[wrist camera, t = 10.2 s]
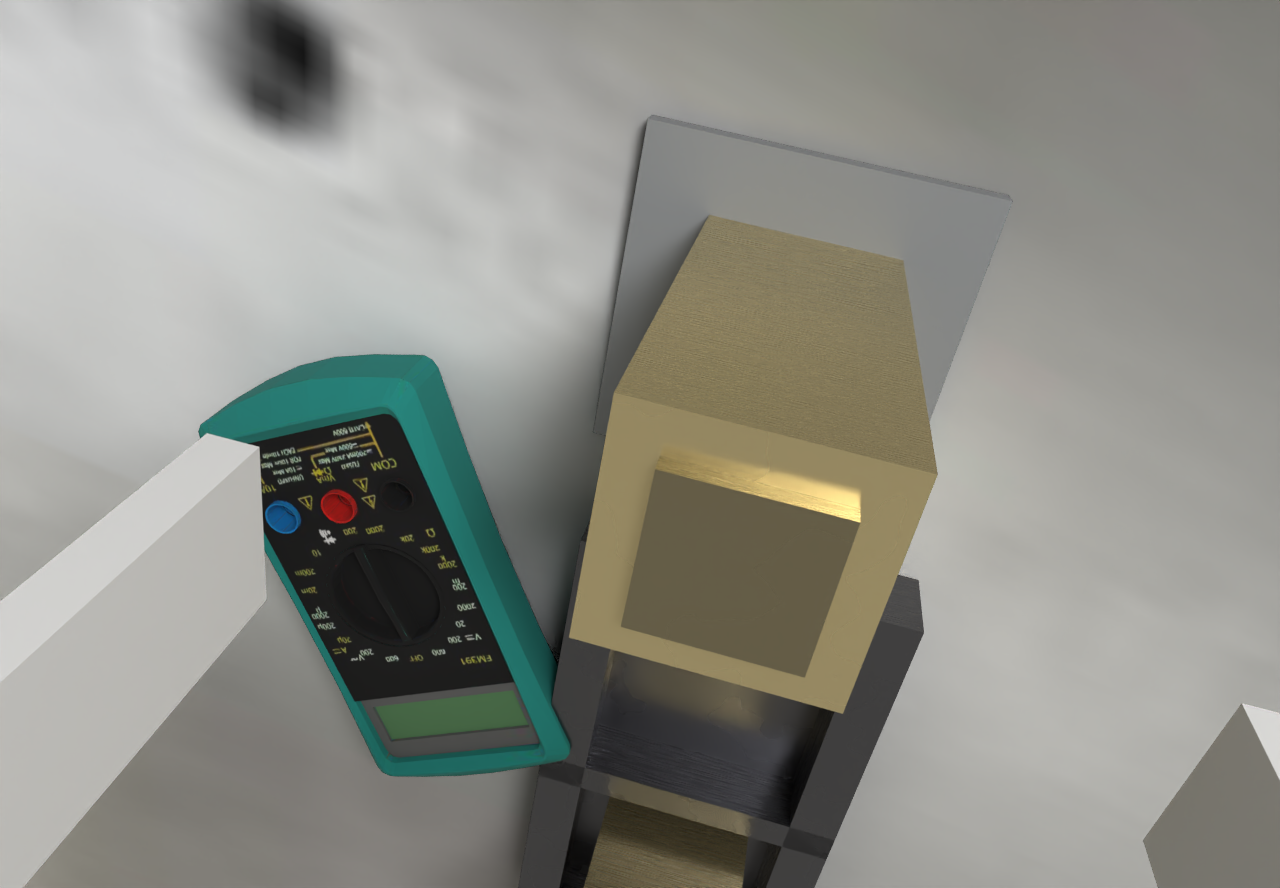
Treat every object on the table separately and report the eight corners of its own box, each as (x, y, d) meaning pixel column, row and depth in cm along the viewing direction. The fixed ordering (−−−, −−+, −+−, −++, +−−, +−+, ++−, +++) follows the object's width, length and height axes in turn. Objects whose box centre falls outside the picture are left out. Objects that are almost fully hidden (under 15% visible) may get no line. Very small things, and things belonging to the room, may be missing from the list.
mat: (652, 114, 24) (648, 118, 23) (1009, 195, 23) (1013, 201, 22) (597, 423, 28) (592, 432, 28) (895, 499, 27) (895, 510, 27)
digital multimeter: (432, 327, 27) (390, 367, 25) (591, 715, 33) (570, 780, 31) (227, 378, 29) (168, 419, 27) (410, 734, 35) (377, 795, 33)
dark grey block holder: (600, 496, 29) (580, 540, 27) (918, 580, 28) (923, 632, 26) (529, 877, 39) (510, 932, 36) (766, 949, 38) (761, 1010, 36)
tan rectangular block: (709, 214, 24) (607, 403, 14) (903, 260, 23) (939, 488, 14) (671, 387, 26) (563, 652, 16) (846, 432, 26) (842, 730, 16)
